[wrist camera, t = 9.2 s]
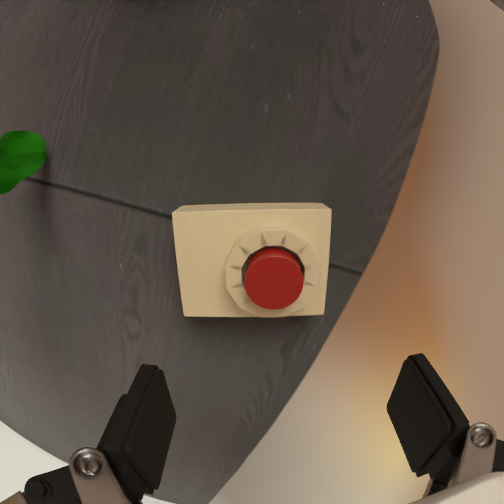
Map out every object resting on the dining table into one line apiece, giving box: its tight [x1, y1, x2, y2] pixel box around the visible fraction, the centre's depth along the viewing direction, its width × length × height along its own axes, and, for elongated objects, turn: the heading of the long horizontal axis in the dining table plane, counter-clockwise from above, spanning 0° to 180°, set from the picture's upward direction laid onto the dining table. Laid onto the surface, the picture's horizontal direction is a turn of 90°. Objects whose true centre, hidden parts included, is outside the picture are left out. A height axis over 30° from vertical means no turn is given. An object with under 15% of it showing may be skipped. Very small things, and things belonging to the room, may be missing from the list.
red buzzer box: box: [172, 203, 332, 317], centre depth 23 cm, size 12×9×5 cm
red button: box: [245, 248, 304, 310], centre depth 20 cm, size 4×4×2 cm
